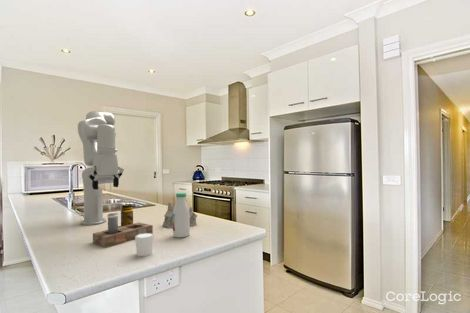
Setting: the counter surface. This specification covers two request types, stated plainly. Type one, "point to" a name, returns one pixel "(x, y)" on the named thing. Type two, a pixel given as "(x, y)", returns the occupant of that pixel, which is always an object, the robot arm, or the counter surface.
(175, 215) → the milk bottle
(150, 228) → the socket block
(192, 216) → the gray stone sculpture
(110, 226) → the grey rounded cylinder
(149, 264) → the counter surface
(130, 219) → the condiment
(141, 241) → the shot glass
